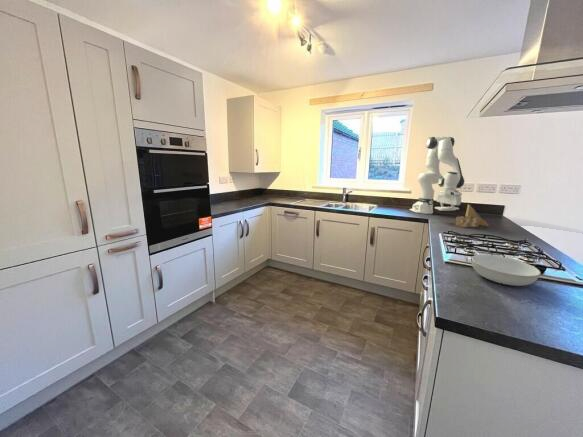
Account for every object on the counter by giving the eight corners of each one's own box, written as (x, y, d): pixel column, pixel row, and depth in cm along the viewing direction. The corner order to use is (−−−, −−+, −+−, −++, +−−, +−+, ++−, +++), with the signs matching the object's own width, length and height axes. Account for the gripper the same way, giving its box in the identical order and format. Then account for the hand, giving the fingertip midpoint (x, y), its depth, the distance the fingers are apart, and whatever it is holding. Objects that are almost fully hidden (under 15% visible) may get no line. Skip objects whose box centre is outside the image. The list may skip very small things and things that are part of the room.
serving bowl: (470, 264, 112) (473, 250, 110) (532, 278, 99) (536, 263, 97) (466, 280, 96) (470, 264, 94) (540, 299, 83) (545, 281, 82)
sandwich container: (489, 226, 187) (493, 207, 184) (465, 223, 194) (469, 205, 191) (486, 224, 195) (491, 206, 191) (464, 221, 202) (467, 204, 198)
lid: (441, 211, 189) (441, 208, 189) (434, 209, 196) (434, 206, 195) (458, 210, 193) (459, 207, 193) (451, 209, 199) (451, 206, 199)
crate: (461, 227, 181) (462, 218, 179) (454, 225, 186) (456, 216, 184) (477, 226, 185) (479, 217, 183) (471, 224, 190) (473, 216, 188)
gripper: (435, 191, 200) (433, 207, 203) (457, 193, 181) (454, 211, 184) (441, 191, 202) (439, 207, 205) (464, 193, 182) (460, 211, 185)
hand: (446, 209), depth 194 cm, fingers closed on lid, 7 cm apart
